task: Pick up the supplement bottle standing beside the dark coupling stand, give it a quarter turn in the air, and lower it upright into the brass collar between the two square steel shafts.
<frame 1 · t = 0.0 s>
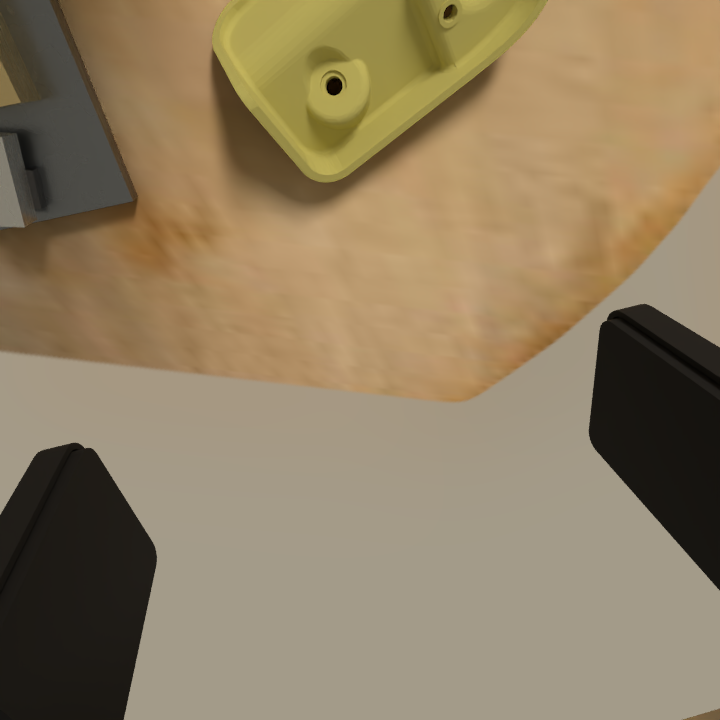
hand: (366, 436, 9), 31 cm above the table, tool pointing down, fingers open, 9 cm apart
plastic component: (378, 28, 33), on the table
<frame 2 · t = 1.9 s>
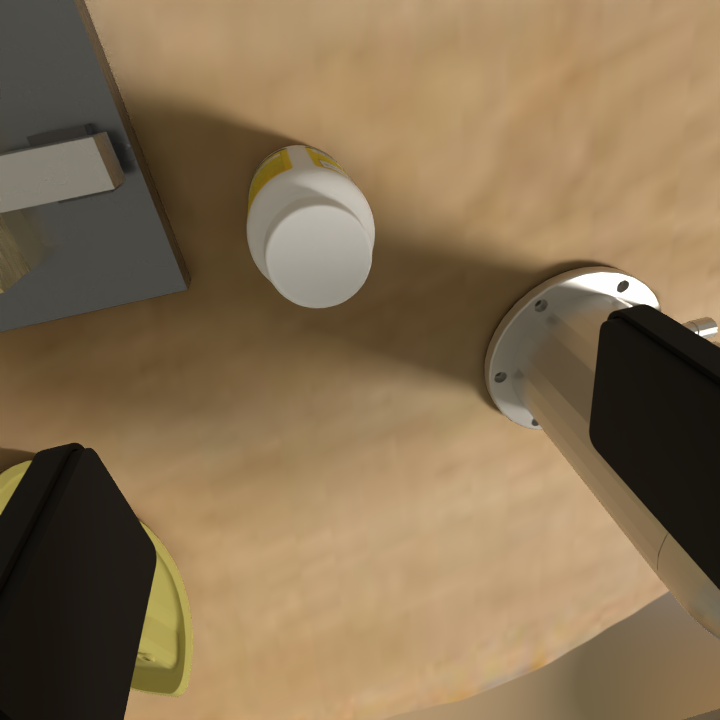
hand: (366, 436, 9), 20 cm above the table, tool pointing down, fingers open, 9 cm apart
plastic component: (82, 555, 37), on the table
supplement bottle: (300, 198, 26), on the table
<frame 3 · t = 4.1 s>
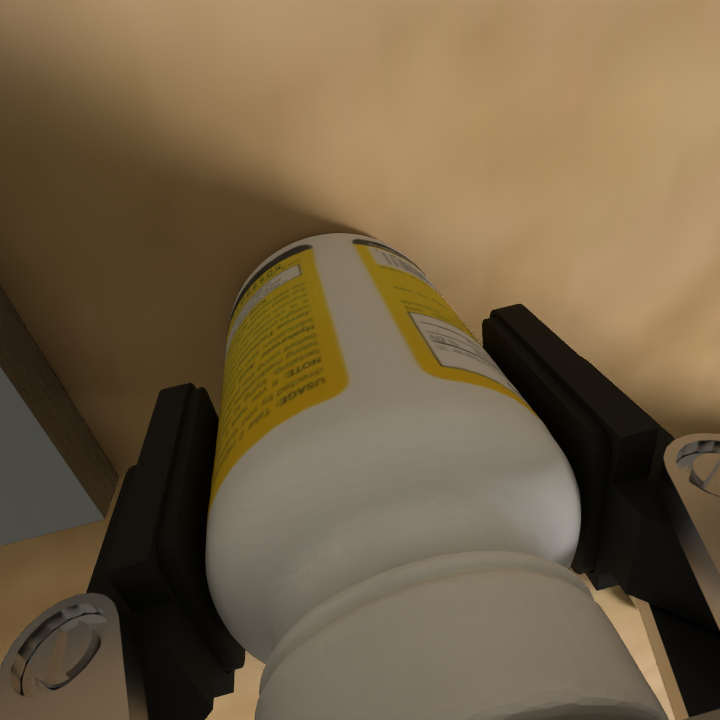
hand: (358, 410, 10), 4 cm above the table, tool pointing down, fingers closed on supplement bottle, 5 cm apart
supplement bottle: (334, 327, 13), on the table, touching gripper
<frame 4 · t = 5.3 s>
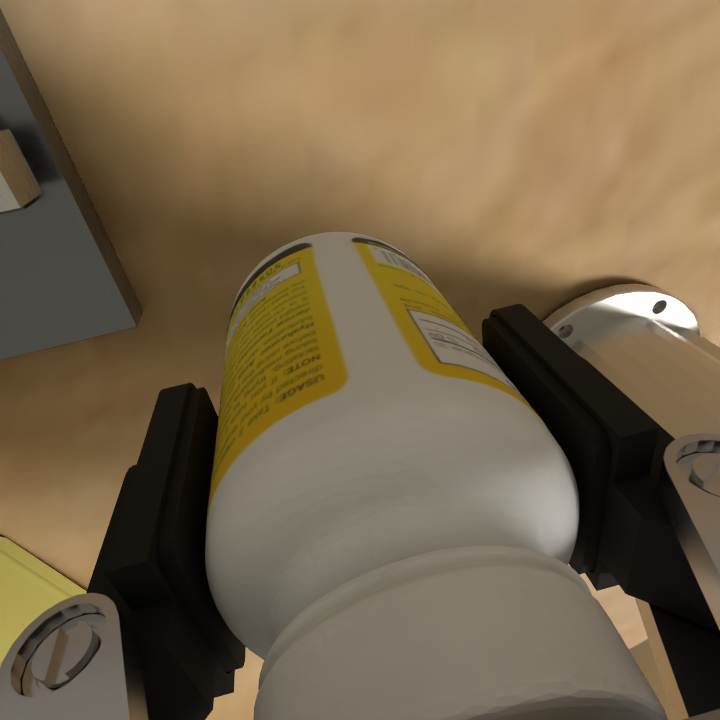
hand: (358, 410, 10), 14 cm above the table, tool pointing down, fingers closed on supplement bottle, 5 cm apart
plastic component: (24, 631, 32), on the table
supplement bottle: (334, 326, 13), point 10 cm above the table, touching gripper
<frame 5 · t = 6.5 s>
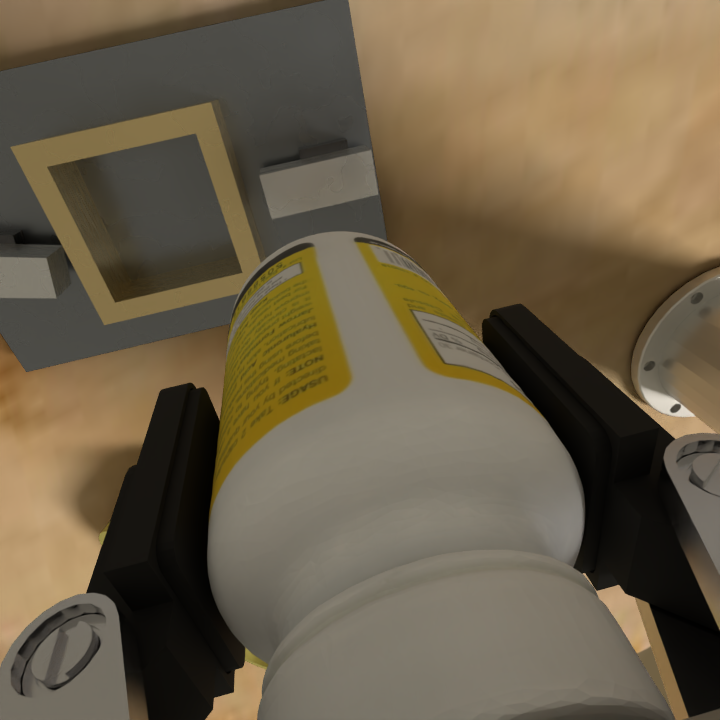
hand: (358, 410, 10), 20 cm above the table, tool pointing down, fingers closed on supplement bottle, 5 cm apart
coupling stand: (170, 202, 26), on the table
supplement bottle: (336, 326, 13), point 16 cm above the table, touching gripper
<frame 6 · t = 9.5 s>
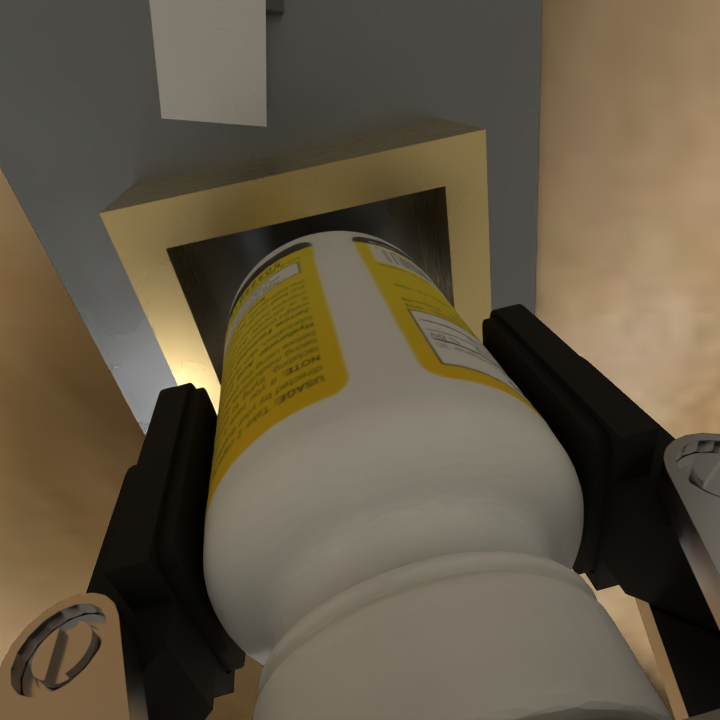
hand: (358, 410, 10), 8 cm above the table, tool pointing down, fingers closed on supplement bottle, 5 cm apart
coupling stand: (318, 277, 16), on the table
supplement bottle: (334, 326, 13), point 4 cm above the table, touching gripper
when the fingers open (6 cm above the table, at t = 10.3 s): supplement bottle stays where it is, resting on coupling stand.
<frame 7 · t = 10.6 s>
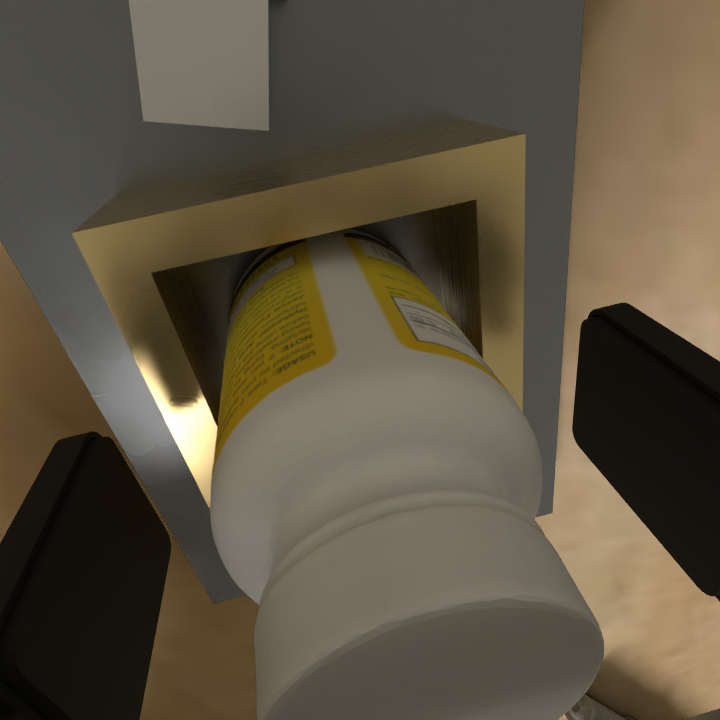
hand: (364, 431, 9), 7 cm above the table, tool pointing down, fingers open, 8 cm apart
coupling stand: (325, 294, 15), on the table
supplement bottle: (328, 316, 14), point 1 cm above the table, touching coupling stand
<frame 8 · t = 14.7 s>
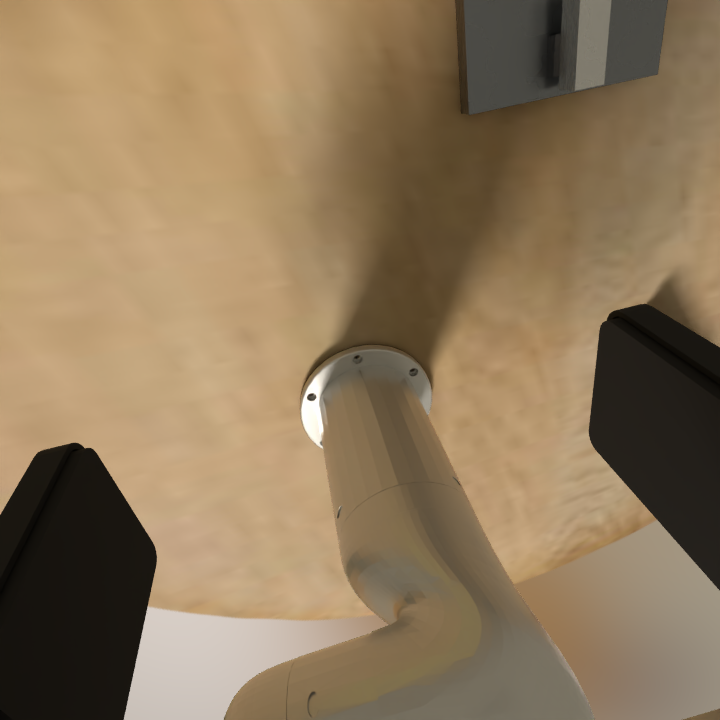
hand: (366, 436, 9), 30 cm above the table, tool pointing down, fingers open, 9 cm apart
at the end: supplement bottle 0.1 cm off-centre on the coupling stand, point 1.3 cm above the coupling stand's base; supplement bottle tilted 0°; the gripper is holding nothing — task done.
